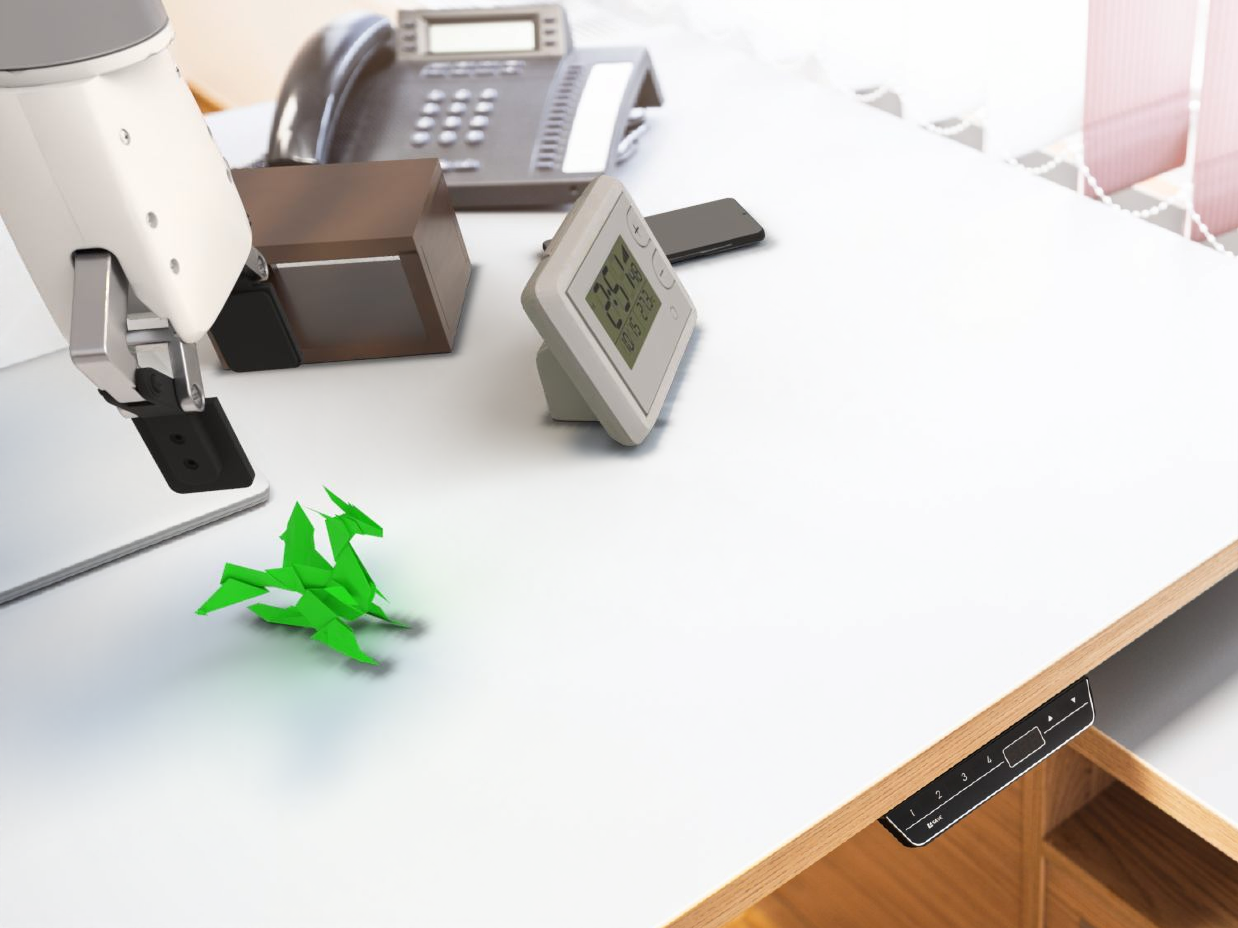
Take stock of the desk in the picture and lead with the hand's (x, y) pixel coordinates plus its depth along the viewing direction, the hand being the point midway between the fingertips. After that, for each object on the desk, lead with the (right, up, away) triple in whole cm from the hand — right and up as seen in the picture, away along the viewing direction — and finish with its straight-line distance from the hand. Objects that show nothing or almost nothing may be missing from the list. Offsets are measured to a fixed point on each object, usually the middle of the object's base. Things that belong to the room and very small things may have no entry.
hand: (244, 423), depth 59 cm
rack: (-12, +14, +32) cm, 37 cm away
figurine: (0, -9, +9) cm, 13 cm away
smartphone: (+6, +21, +40) cm, 46 cm away
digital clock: (+9, +8, +27) cm, 29 cm away
